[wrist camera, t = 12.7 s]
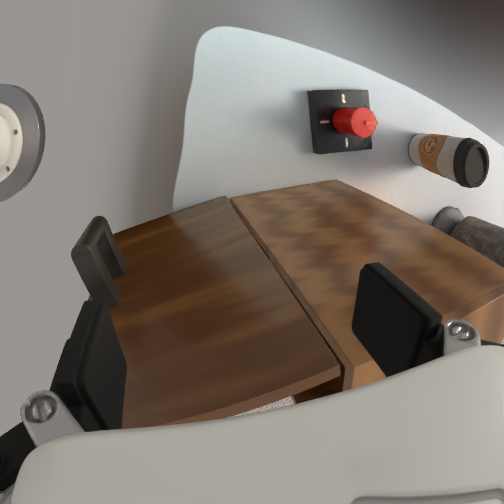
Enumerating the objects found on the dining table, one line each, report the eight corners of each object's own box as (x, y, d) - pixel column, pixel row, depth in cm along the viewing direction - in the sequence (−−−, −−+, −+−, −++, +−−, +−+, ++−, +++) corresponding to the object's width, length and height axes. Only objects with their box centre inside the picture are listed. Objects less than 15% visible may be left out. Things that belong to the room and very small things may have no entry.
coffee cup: (414, 119, 49) (475, 129, 36) (438, 143, 53) (495, 158, 39) (397, 156, 52) (456, 174, 38) (422, 177, 55) (478, 199, 42)
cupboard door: (98, 194, 42) (-19, 369, 11) (213, 154, 44) (330, 260, 13) (116, 239, 45) (59, 450, 14) (226, 202, 48) (341, 375, 16)
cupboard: (245, 296, 56) (331, 482, 24) (230, 197, 48) (354, 367, 16) (338, 273, 59) (466, 410, 27) (336, 179, 51) (524, 281, 19)
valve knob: (333, 135, 45) (353, 138, 40) (331, 107, 43) (351, 107, 38) (357, 133, 46) (378, 137, 41) (355, 106, 44) (376, 107, 39)
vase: (455, 168, 56) (570, 215, 30) (479, 230, 66) (567, 282, 39) (396, 240, 59) (507, 321, 33) (430, 292, 69) (512, 364, 42)
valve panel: (313, 152, 48) (319, 154, 46) (307, 91, 43) (313, 90, 41) (365, 147, 49) (372, 149, 48) (361, 90, 45) (368, 90, 43)
